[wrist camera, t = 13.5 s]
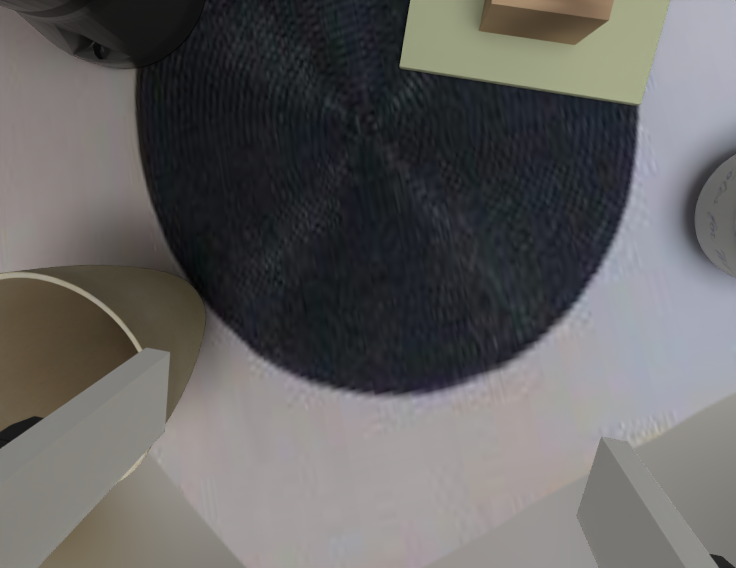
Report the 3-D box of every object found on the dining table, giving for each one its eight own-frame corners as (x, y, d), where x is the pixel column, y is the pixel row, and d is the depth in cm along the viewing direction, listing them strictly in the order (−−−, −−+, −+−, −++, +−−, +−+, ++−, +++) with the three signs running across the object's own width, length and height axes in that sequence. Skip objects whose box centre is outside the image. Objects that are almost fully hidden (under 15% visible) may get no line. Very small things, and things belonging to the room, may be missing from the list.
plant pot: (83, 225, 45) (-90, 260, 30) (246, 239, 44) (153, 284, 29) (94, 379, 49) (-56, 481, 34) (244, 397, 48) (161, 511, 33)
